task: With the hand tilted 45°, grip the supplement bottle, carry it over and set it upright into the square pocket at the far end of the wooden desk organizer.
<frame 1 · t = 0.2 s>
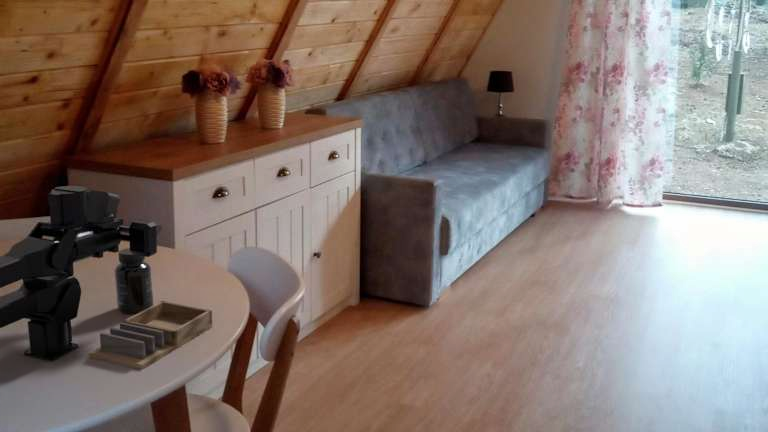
hand: (141, 224, 162), 17 cm above the table, tool horizontal, fingers open, 9 cm apart
wooden desk organizer: (153, 341, 149), on the table
supplement bottle: (135, 310, 163), on the table
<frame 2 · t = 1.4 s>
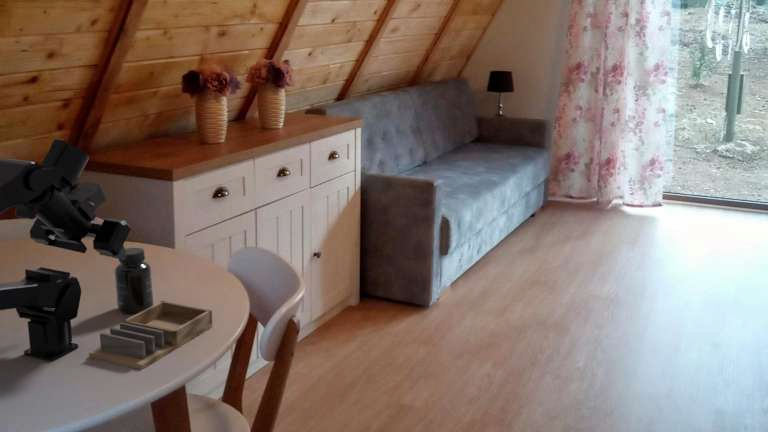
hand: (104, 254, 153), 13 cm above the table, tool tilted 45°, fingers open, 9 cm apart
nothing on the table moved.
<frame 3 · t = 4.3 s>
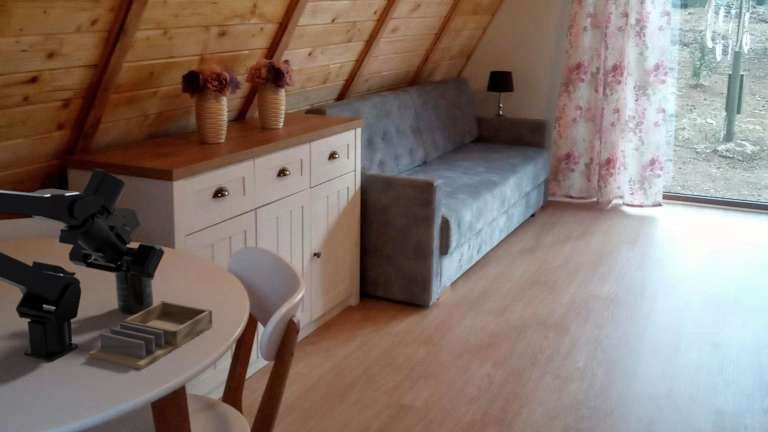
hand: (138, 275, 163), 7 cm above the table, tool tilted 45°, fingers closed on supplement bottle, 7 cm apart
supplement bottle: (135, 310, 163), on the table, touching gripper
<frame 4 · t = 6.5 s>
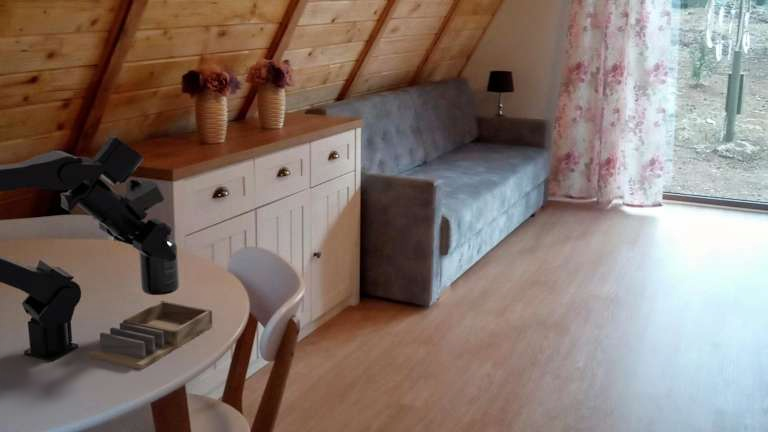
hand: (165, 254, 154), 13 cm above the table, tool tilted 45°, fingers closed on supplement bottle, 7 cm apart
supplement bottle: (160, 290, 155), point 6 cm above the table, touching gripper
when the fingers open (9 cm above the table, at t = 8.9 s): supplement bottle drops 1 cm, resting on wooden desk organizer.
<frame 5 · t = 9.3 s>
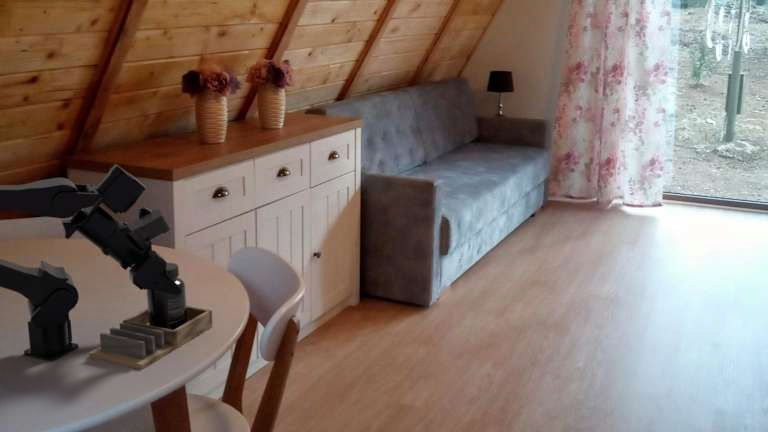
hand: (174, 284, 151), 9 cm above the table, tool tilted 45°, fingers open, 9 cm apart
supplement bottle: (168, 329, 152), point 1 cm above the table, touching wooden desk organizer
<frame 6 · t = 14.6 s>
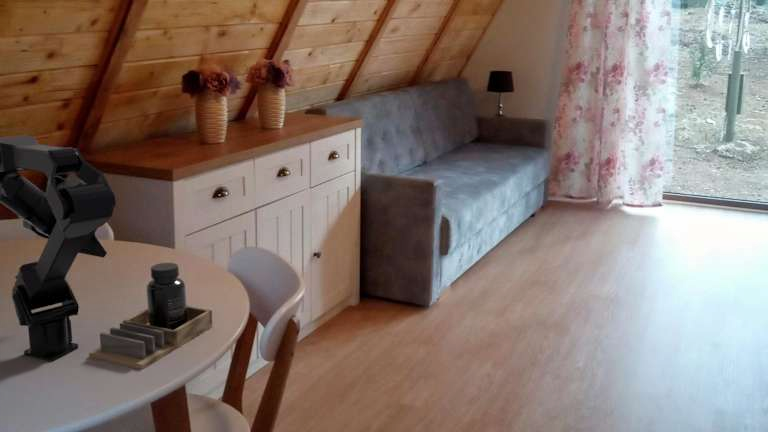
hand: (92, 249, 155), 14 cm above the table, tool tilted 45°, fingers open, 9 cm apart
nothing on the table moved.
at the end: supplement bottle 0.1 cm from the target spot on the wooden desk organizer, point 0.6 cm above the wooden desk organizer's base; supplement bottle tilted 0°; the gripper is holding nothing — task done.
